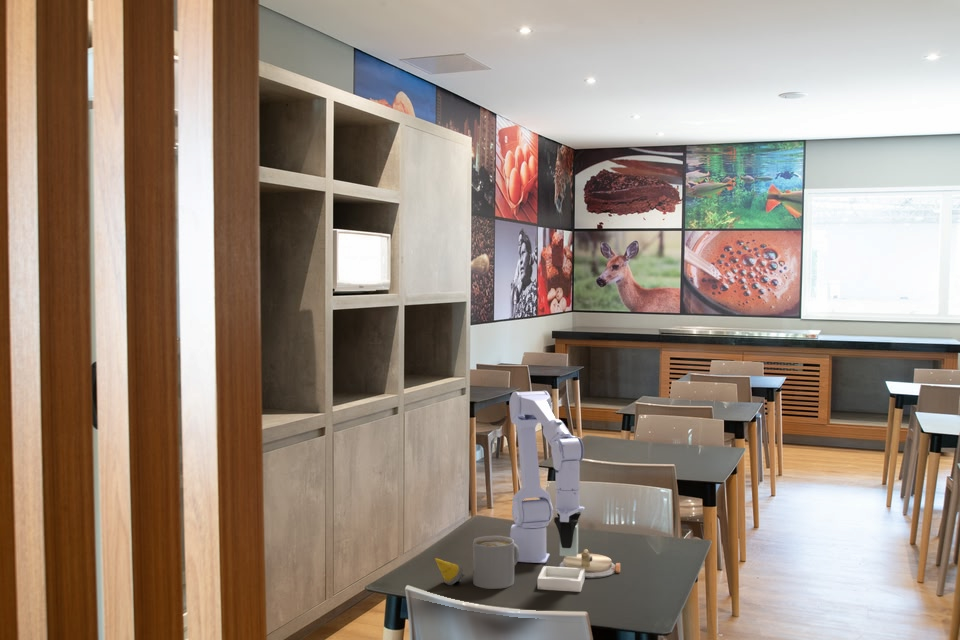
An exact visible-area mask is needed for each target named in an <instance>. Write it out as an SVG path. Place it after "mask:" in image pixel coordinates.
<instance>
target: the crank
mask: <svg viewBox="0 0 960 640" xmlns="http://www.w3.org/2000/svg"><path fill="white" fill-rule="evenodd" d="M563 561H564V566H565V567H568V568H585V572H598V571H604V570H607V569H609V568H611V566H612V563H613V562H612V559H611V558H610V557H608V556H606V555H602V554H599V553H597V554H596V553H590V552H589V550H588V549H587V548H585V549H583V551H582V552H581V553H578V554H577V557H571V556H564V558H563Z"/></svg>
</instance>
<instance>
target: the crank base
mask: <svg viewBox="0 0 960 640" xmlns="http://www.w3.org/2000/svg"><path fill="white" fill-rule="evenodd" d="M559 567H565V566H564V560H562V561H561V562H560V563H559ZM617 573H621V563H620V562H616V563H615V564H614V563H613V562H612V566H611V568H609V569H607V570H604V571H598V572H585V579H598V578H606V577H610V576H612V575H614V574H617Z"/></svg>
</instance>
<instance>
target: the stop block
mask: <svg viewBox="0 0 960 640" xmlns="http://www.w3.org/2000/svg"><path fill="white" fill-rule="evenodd" d="M577 554H579V523H578V522H577V524H576V526H575V529H574V534H573V541H572V546H571V548H562V545H561V541H560V540H559V557H566V556H571V557H577Z"/></svg>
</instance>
